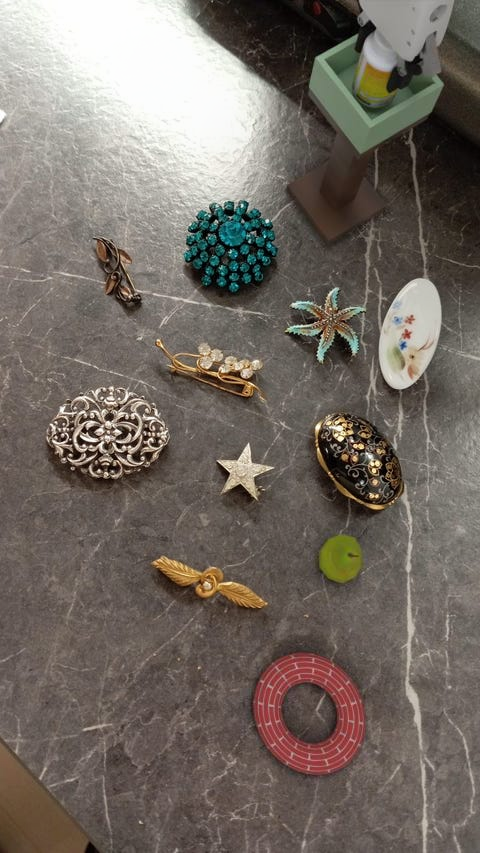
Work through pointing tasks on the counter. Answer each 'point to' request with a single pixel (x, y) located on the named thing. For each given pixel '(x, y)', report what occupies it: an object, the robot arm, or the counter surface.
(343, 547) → the fruit
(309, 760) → the torus
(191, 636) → the counter surface
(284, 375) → the counter surface
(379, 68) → the supplement bottle
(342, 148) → the stand
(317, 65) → the bin
